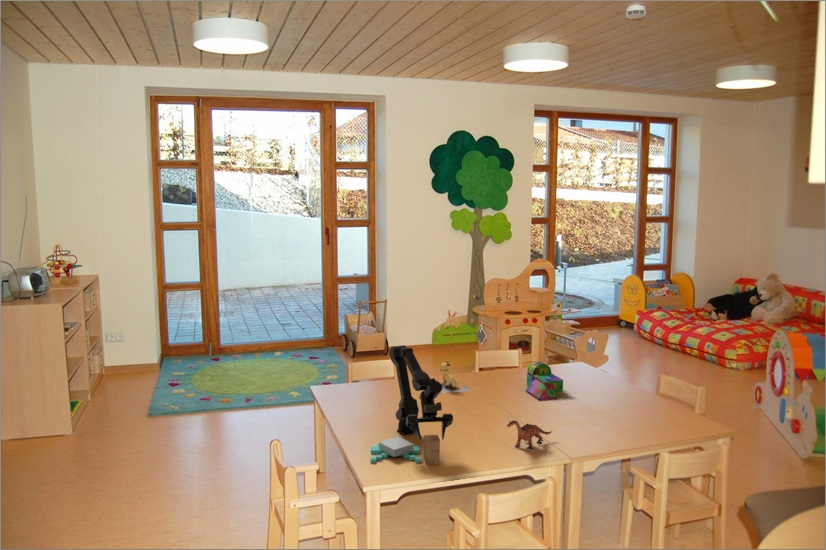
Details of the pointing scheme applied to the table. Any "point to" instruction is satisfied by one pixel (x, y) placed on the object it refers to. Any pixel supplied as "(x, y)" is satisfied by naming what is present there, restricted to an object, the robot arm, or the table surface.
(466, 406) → the table surface
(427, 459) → the walnut block
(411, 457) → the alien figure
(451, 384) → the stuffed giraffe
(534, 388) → the block puzzle
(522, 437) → the brown animal figure
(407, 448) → the slate block
